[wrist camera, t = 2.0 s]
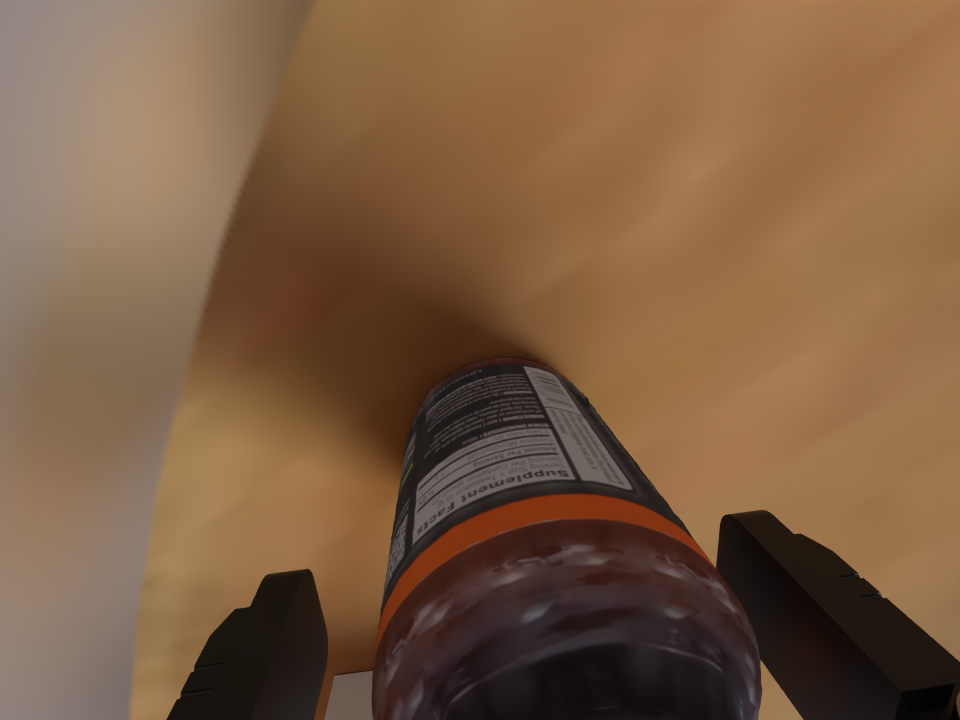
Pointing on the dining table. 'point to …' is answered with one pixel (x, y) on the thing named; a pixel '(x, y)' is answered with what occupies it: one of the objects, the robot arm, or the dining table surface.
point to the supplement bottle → (546, 571)
